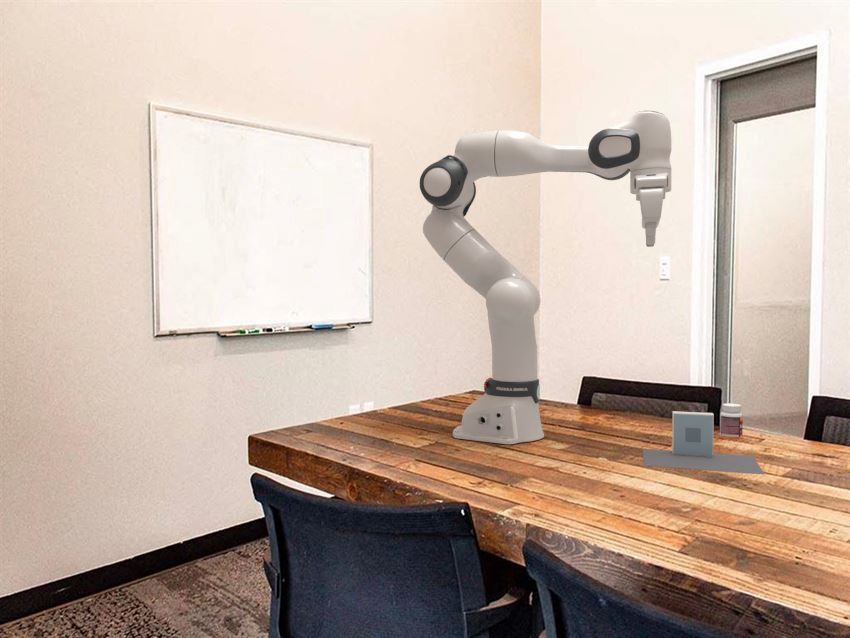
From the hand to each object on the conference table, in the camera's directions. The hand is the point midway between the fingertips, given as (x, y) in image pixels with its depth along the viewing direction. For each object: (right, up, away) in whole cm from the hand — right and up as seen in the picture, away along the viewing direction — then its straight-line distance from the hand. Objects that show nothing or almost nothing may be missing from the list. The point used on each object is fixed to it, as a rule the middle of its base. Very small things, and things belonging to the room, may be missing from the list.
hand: (650, 245), depth 147 cm
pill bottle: (+21, -46, +6) cm, 51 cm away
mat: (+5, -47, -14) cm, 49 cm away
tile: (+6, -46, -9) cm, 47 cm away
